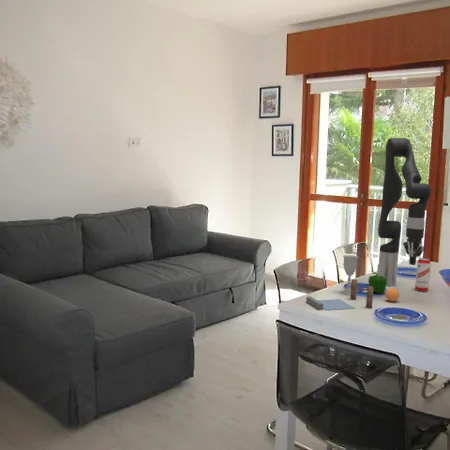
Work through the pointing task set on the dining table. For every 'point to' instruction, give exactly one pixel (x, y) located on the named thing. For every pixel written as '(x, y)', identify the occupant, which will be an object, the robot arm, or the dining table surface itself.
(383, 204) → the robot arm
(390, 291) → the ball
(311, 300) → the wall
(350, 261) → the chalice
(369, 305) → the post
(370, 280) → the bell pepper
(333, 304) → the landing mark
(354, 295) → the post
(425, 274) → the beer can
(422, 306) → the dining table surface
